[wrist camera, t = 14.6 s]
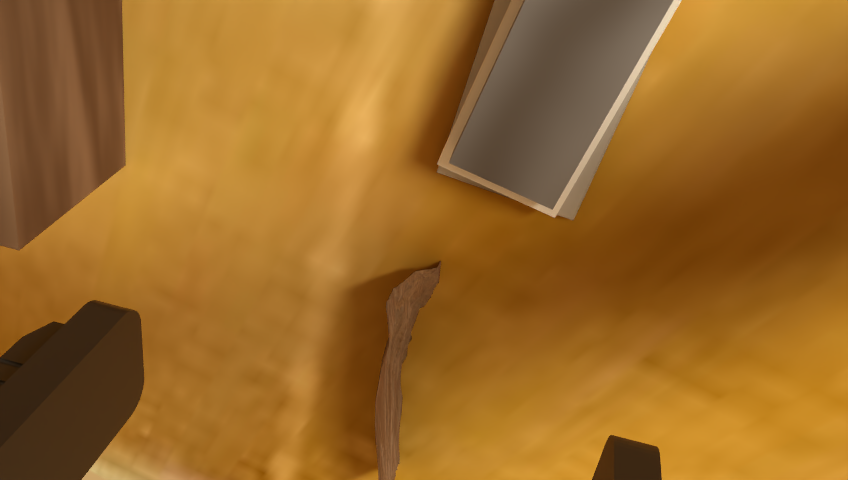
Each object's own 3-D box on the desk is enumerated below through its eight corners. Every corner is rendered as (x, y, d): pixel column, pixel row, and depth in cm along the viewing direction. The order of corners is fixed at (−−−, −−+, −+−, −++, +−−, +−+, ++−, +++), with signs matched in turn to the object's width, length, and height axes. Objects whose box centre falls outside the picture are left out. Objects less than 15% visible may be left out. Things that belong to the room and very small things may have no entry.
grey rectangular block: (671, -12, 30) (674, -3, 29) (554, 194, 35) (552, 209, 34) (554, -67, 30) (553, -60, 29) (453, 149, 35) (448, 162, 34)
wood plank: (421, 465, 49) (404, 530, 44) (389, 459, 49) (369, 522, 45) (441, 258, 41) (422, 312, 37) (403, 252, 41) (379, 305, 37)
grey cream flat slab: (705, -80, 31) (710, -75, 30) (574, 206, 39) (573, 220, 37) (542, -137, 31) (539, -134, 30) (441, 159, 39) (436, 172, 38)
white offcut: (693, -36, 31) (698, -29, 30) (556, 203, 37) (554, 217, 36) (557, -100, 31) (555, -96, 29) (442, 151, 37) (436, 164, 36)
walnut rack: (638, -228, 29) (655, -235, 21) (499, 262, 40) (477, 374, 32) (65, -351, 30) (-116, -400, 22) (90, 155, 41) (-24, 238, 34)
